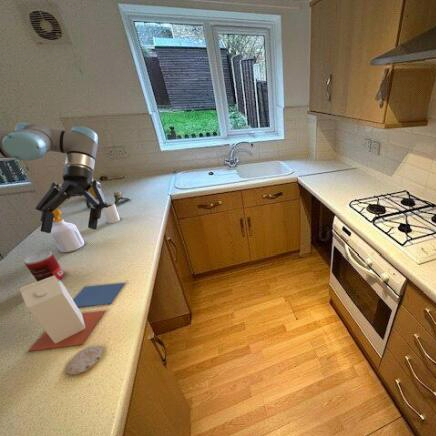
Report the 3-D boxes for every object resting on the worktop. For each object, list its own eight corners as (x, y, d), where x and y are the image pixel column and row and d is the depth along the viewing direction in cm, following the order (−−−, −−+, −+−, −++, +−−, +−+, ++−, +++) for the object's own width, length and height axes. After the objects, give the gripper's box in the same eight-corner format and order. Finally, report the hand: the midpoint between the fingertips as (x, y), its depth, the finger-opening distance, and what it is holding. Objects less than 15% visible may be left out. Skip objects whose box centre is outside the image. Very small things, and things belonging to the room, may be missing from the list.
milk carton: (53, 329, 73) (18, 282, 64) (82, 315, 77) (53, 269, 68) (55, 344, 68) (18, 296, 59) (86, 328, 73) (55, 281, 64)
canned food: (60, 270, 98) (46, 248, 93) (68, 276, 95) (54, 254, 89) (35, 281, 92) (19, 258, 87) (43, 288, 89) (27, 265, 84)
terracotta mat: (28, 351, 67) (28, 350, 67) (59, 316, 78) (59, 315, 77) (82, 345, 68) (81, 344, 68) (105, 311, 79) (105, 310, 79)
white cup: (108, 219, 137) (101, 204, 132) (121, 217, 139) (115, 201, 135) (106, 224, 131) (98, 208, 127) (120, 222, 134) (113, 205, 129)
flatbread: (78, 380, 60) (76, 378, 59) (60, 369, 62) (58, 367, 62) (110, 351, 66) (109, 349, 66) (93, 342, 69) (91, 340, 68)
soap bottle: (84, 239, 119) (60, 193, 107) (85, 247, 112) (60, 199, 101) (60, 246, 114) (33, 199, 102) (60, 255, 107) (30, 205, 96)
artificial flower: (91, 207, 156) (88, 191, 154) (131, 204, 164) (129, 190, 162) (85, 209, 148) (82, 192, 146) (128, 206, 156) (126, 191, 154)
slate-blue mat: (66, 308, 80) (65, 308, 80) (85, 287, 89) (84, 286, 89) (110, 304, 82) (110, 303, 81) (124, 283, 90) (124, 282, 90)
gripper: (124, 173, 86) (118, 229, 80) (49, 177, 84) (37, 236, 78) (111, 162, 79) (103, 223, 73) (28, 166, 77) (13, 230, 71)
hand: (69, 230), depth 75 cm, fingers open, 13 cm apart
